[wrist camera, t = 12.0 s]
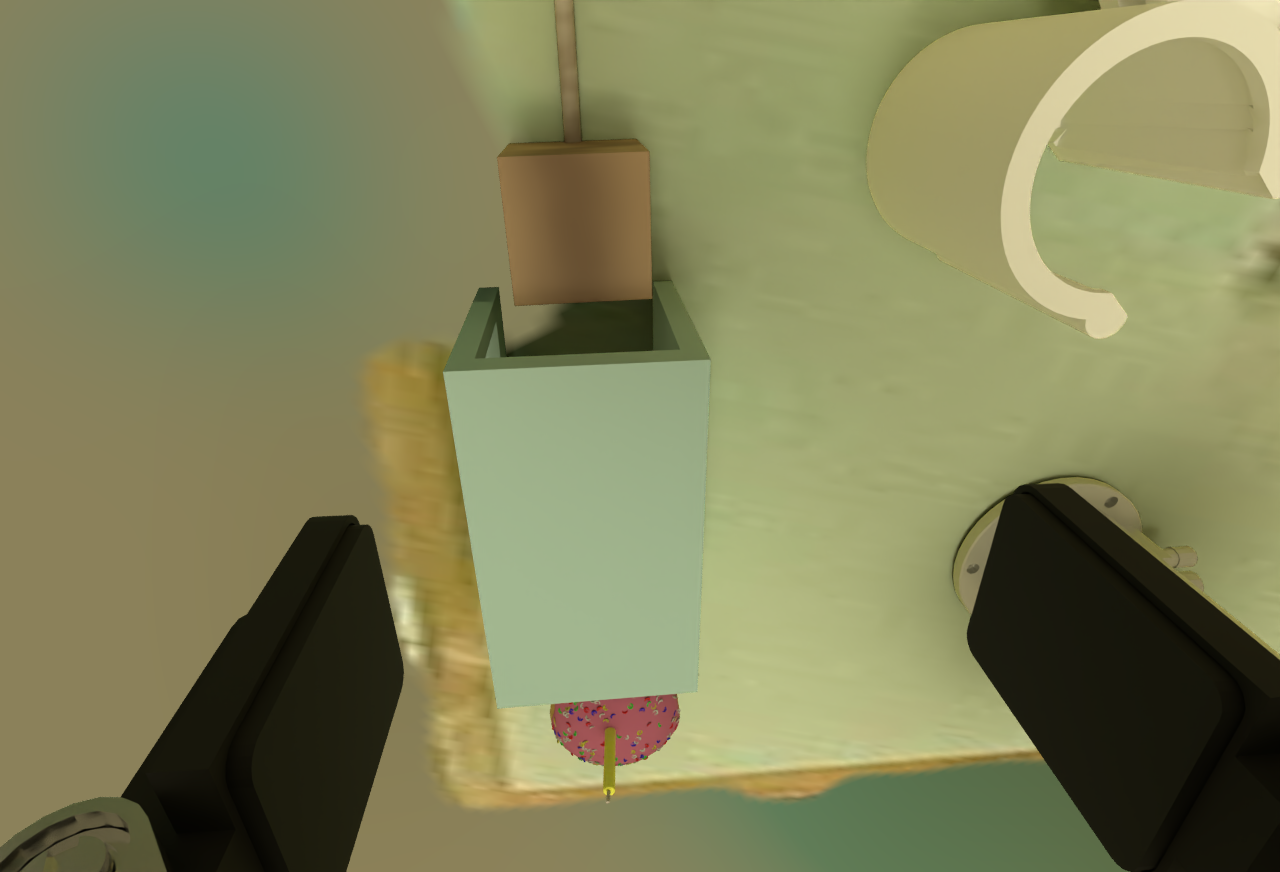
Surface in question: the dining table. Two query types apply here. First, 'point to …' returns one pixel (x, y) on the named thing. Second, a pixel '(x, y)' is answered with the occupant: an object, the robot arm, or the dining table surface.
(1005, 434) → the dining table surface
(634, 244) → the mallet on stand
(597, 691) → the plain rectangular box
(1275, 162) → the bracket
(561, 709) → the cupcake
